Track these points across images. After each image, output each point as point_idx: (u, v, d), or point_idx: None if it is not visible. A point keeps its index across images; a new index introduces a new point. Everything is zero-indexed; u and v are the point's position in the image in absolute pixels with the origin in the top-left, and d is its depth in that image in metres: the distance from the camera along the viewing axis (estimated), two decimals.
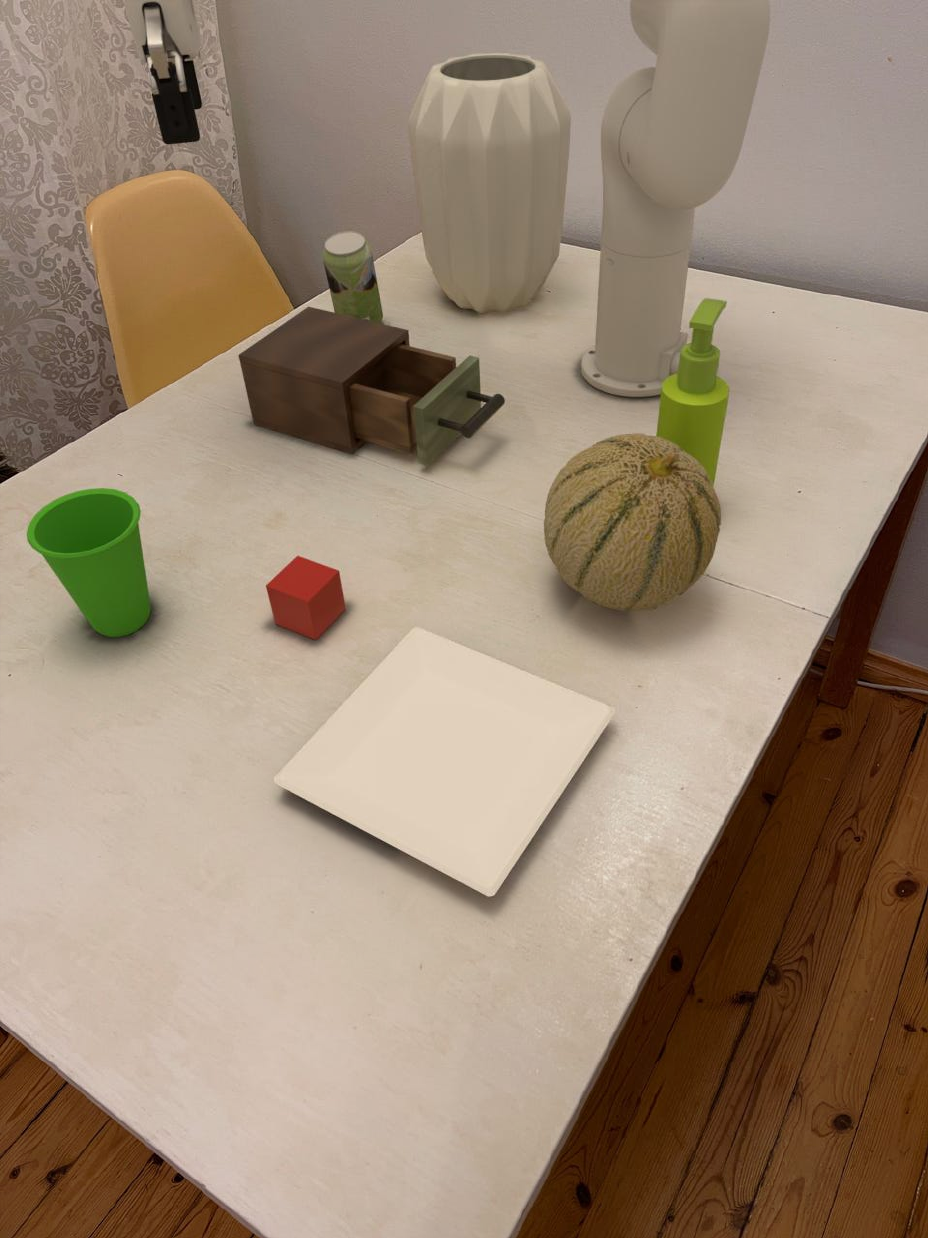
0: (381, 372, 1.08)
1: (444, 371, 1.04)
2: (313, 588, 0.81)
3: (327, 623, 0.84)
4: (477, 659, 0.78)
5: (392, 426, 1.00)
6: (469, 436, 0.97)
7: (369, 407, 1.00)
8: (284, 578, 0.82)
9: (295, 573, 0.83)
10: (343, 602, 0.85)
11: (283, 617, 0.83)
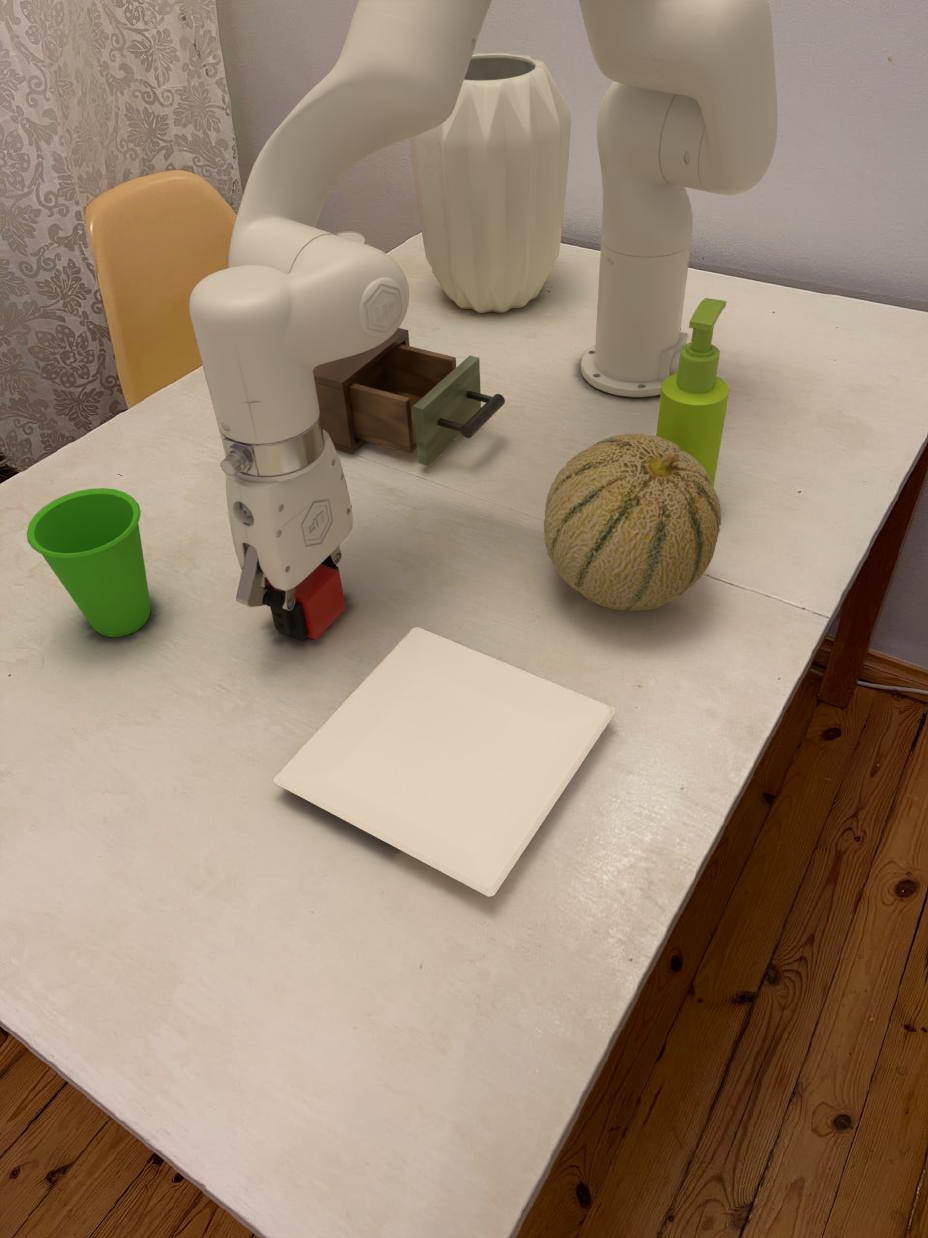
0: (381, 372, 1.08)
1: (444, 371, 1.04)
2: (313, 588, 0.81)
3: (327, 623, 0.84)
4: (477, 659, 0.78)
5: (392, 426, 1.00)
6: (469, 436, 0.97)
7: (369, 407, 1.00)
8: None
9: None
10: (343, 602, 0.85)
11: None
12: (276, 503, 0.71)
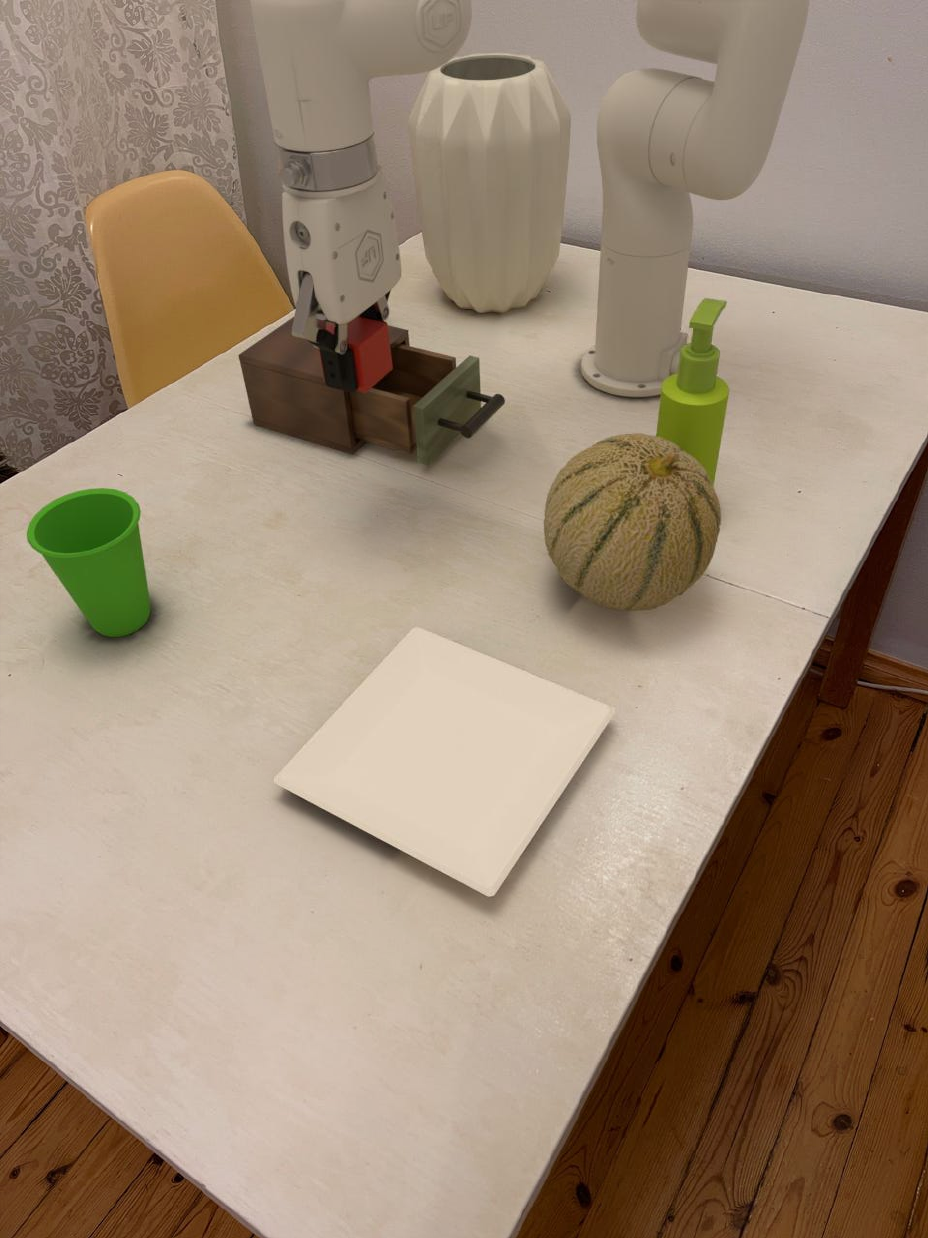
0: None
1: (444, 371, 1.04)
2: (363, 336, 0.83)
3: (376, 378, 0.85)
4: (477, 659, 0.78)
5: (392, 426, 1.00)
6: (469, 436, 0.97)
7: (369, 407, 1.00)
8: None
9: None
10: (391, 360, 0.87)
11: None
12: (333, 220, 0.73)
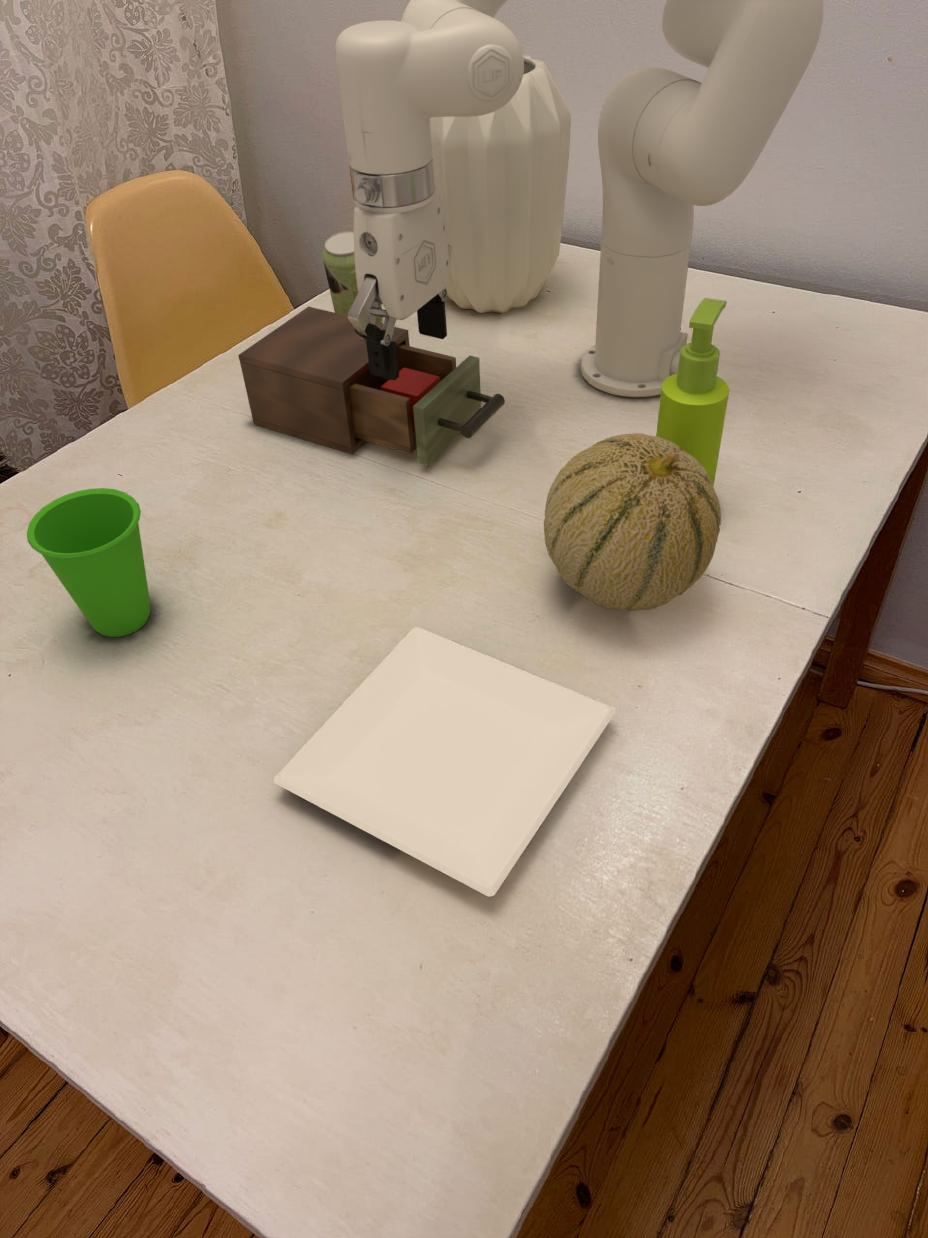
0: None
1: (444, 371, 1.04)
2: (420, 387, 1.00)
3: None
4: (477, 659, 0.78)
5: (392, 426, 1.00)
6: (469, 436, 0.97)
7: (369, 407, 1.00)
8: (395, 381, 1.02)
9: (404, 378, 1.02)
10: None
11: None
12: (397, 232, 0.86)
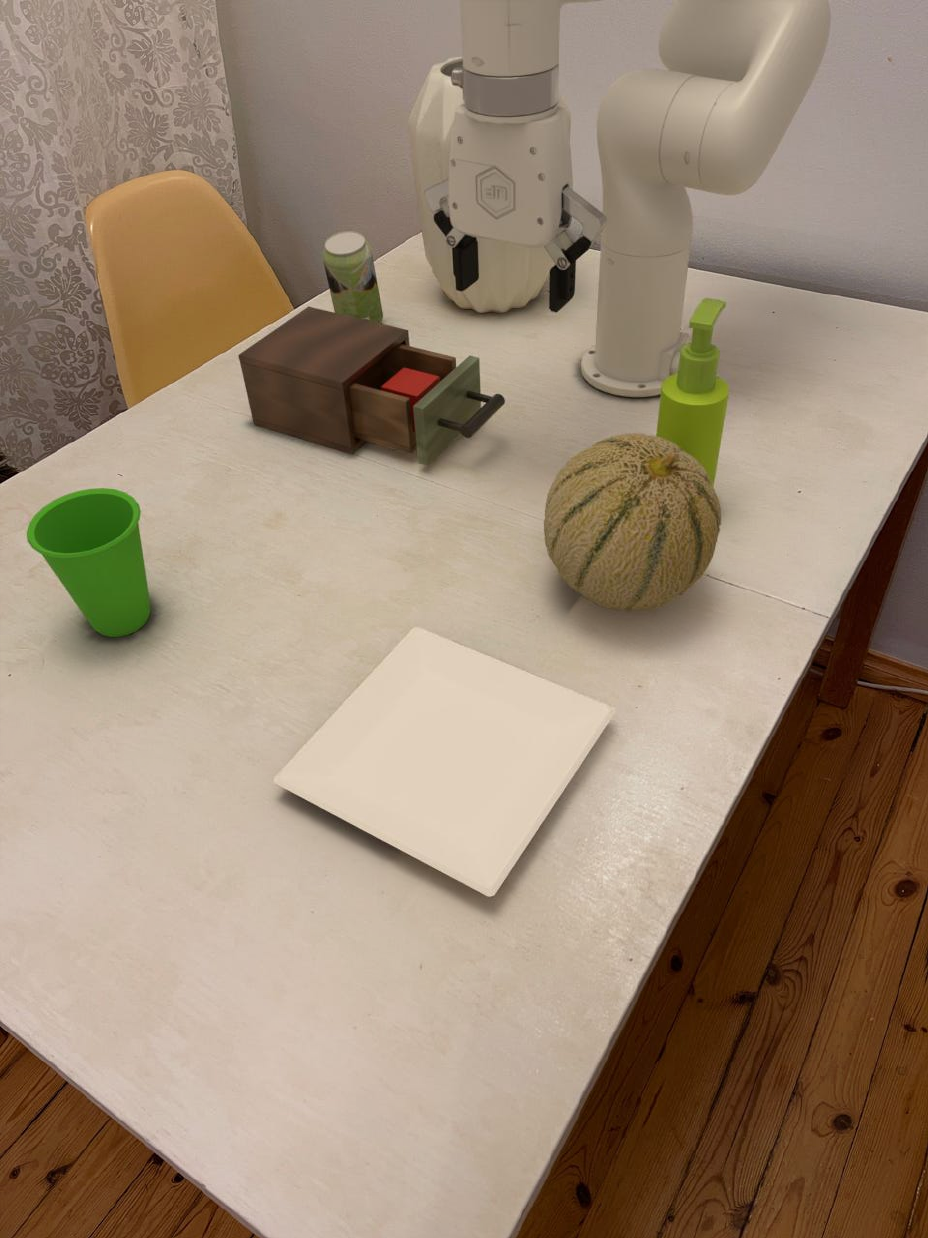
0: (381, 372, 1.08)
1: (444, 371, 1.04)
2: (420, 387, 1.00)
3: None
4: (477, 659, 0.78)
5: (392, 426, 1.00)
6: (469, 436, 0.97)
7: (369, 407, 1.00)
8: (395, 381, 1.02)
9: (404, 378, 1.02)
10: None
11: None
12: (457, 132, 0.79)
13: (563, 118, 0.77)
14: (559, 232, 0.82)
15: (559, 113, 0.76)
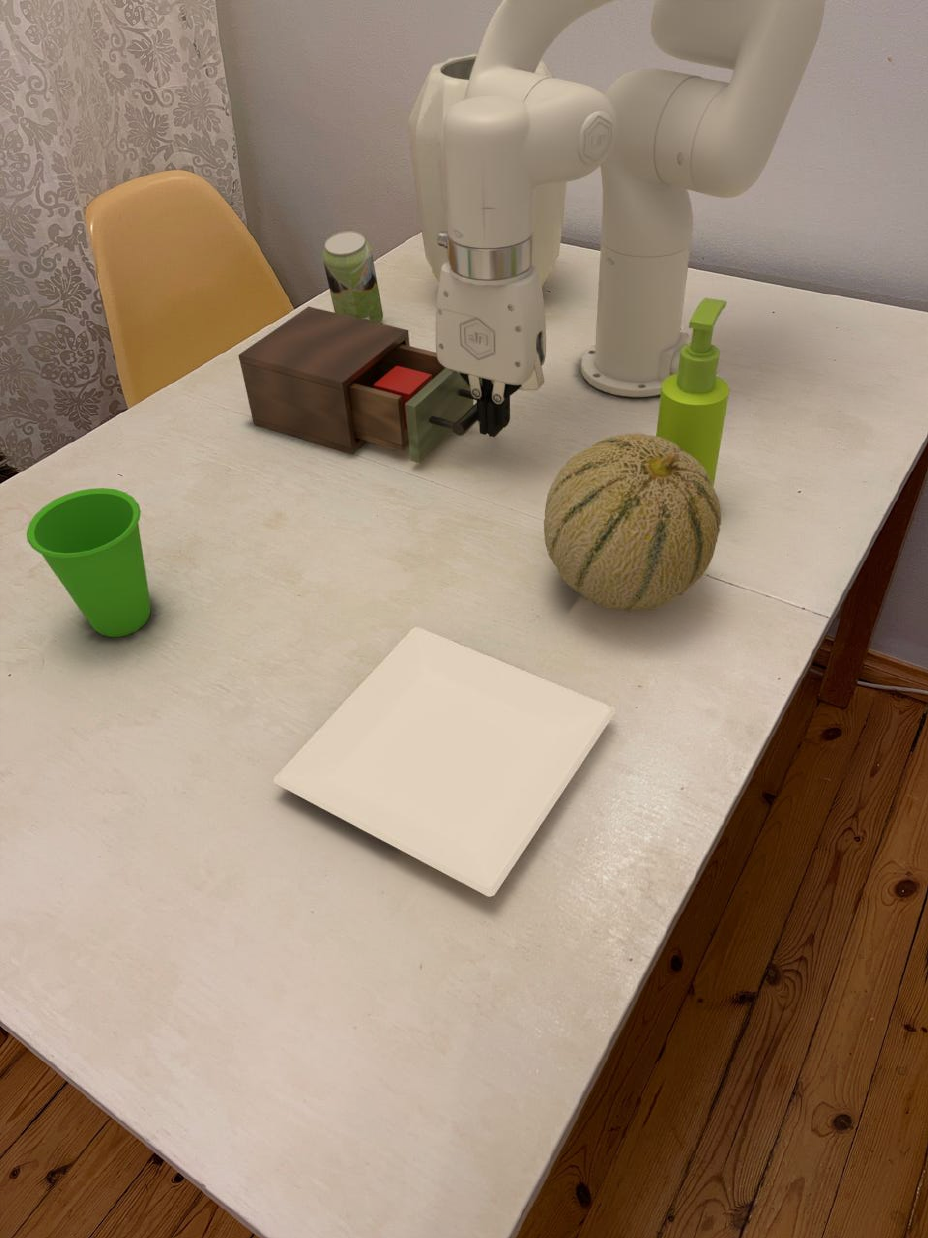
0: (374, 370, 1.08)
1: (437, 369, 1.04)
2: (412, 385, 1.01)
3: None
4: (477, 659, 0.78)
5: (384, 424, 1.00)
6: (461, 434, 0.98)
7: (361, 405, 1.00)
8: (388, 379, 1.02)
9: (397, 376, 1.02)
10: None
11: None
12: (443, 287, 0.89)
13: (537, 278, 0.87)
14: None
15: (533, 274, 0.87)
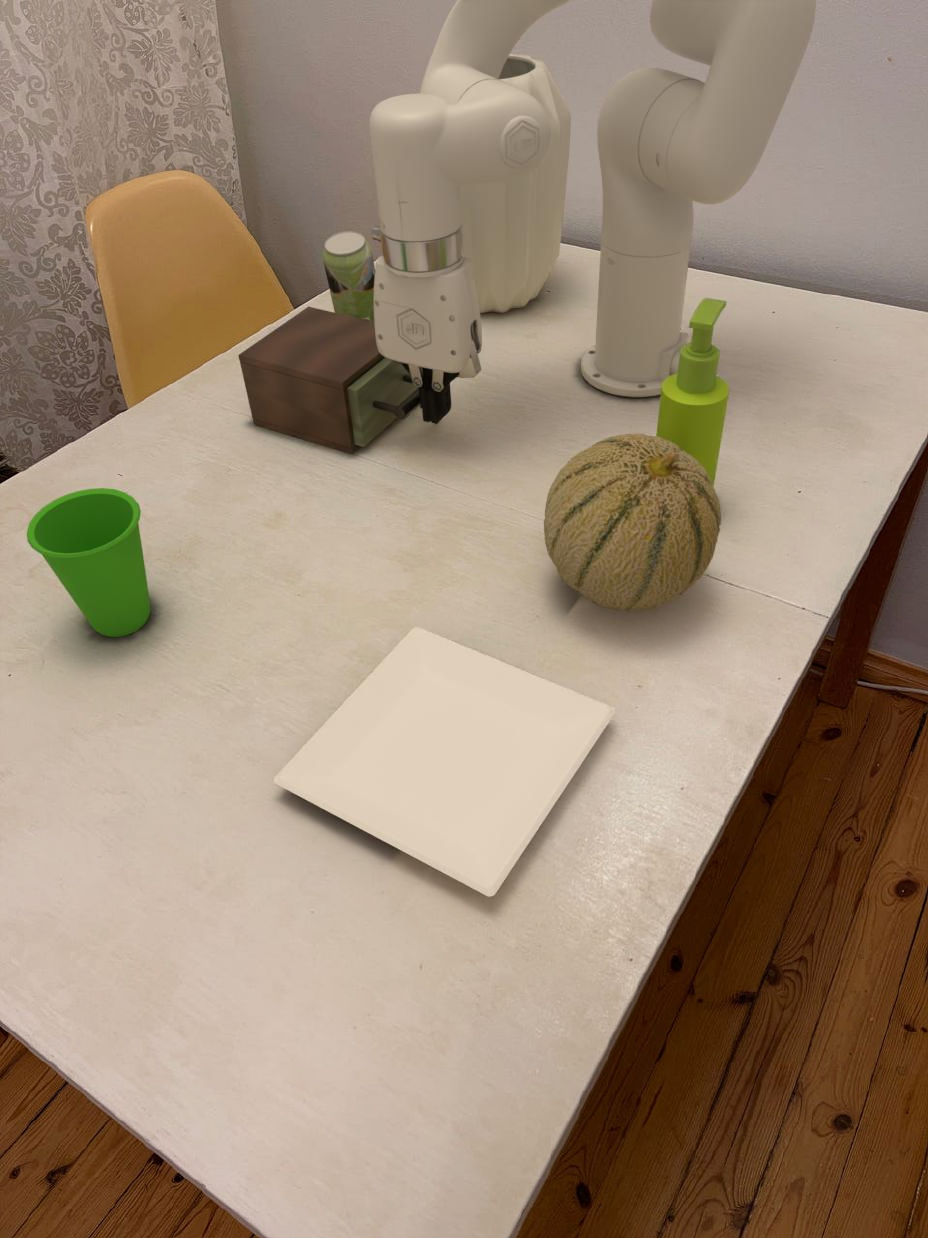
0: None
1: None
2: None
3: None
4: (477, 659, 0.78)
5: None
6: (402, 417, 1.00)
7: None
8: None
9: None
10: None
11: None
12: (379, 279, 0.92)
13: (468, 269, 0.90)
14: None
15: (464, 265, 0.90)
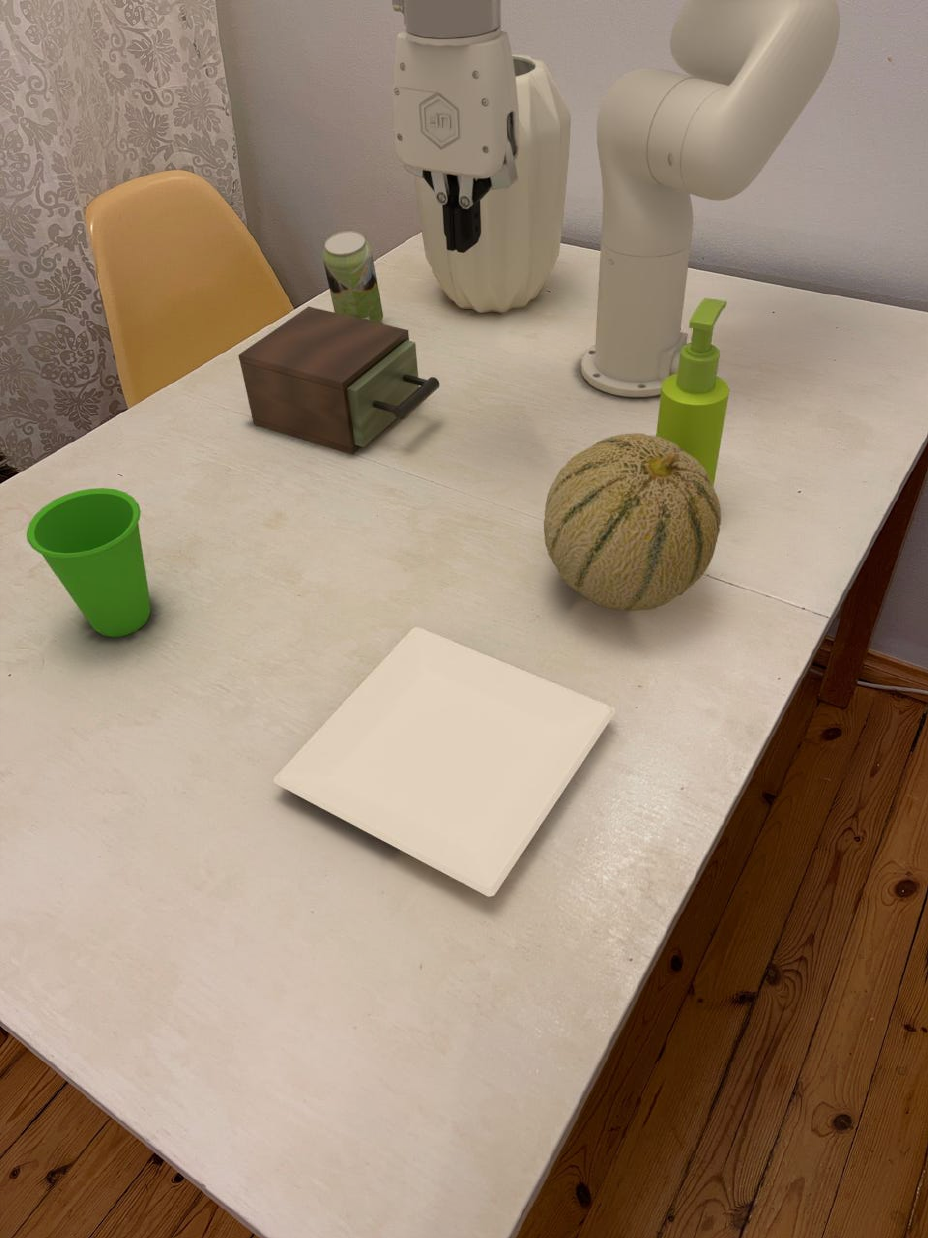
0: None
1: None
2: None
3: None
4: (477, 659, 0.78)
5: None
6: (402, 417, 1.00)
7: None
8: None
9: None
10: None
11: None
12: (399, 58, 0.77)
13: (506, 42, 0.75)
14: None
15: (502, 36, 0.75)
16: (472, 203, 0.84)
